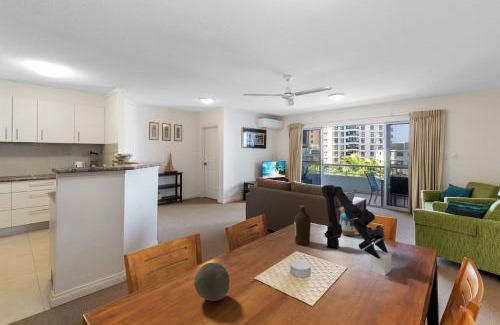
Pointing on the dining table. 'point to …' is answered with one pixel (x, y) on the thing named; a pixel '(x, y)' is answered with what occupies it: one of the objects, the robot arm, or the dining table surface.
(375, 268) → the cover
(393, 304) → the dining table surface
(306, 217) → the olive oil
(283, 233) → the dining table surface
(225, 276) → the dark grey ball
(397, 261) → the grey square tile
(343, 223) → the vase
